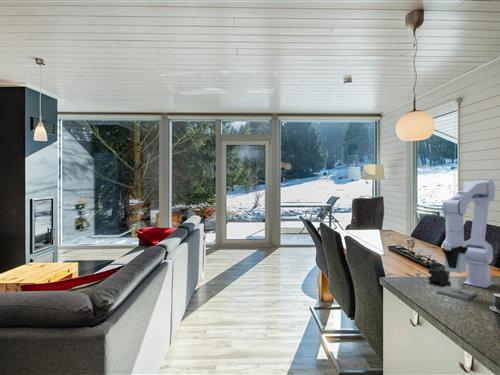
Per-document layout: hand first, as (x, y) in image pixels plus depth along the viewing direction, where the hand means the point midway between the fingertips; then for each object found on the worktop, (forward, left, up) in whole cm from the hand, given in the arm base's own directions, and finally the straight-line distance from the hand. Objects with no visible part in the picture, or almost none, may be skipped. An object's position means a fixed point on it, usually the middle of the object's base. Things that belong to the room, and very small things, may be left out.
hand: (455, 266), depth 117 cm
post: (0, 0, -10) cm, 10 cm away
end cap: (-11, -10, -11) cm, 18 cm away
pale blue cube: (0, 0, -2) cm, 2 cm away
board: (0, 0, -10) cm, 10 cm away
